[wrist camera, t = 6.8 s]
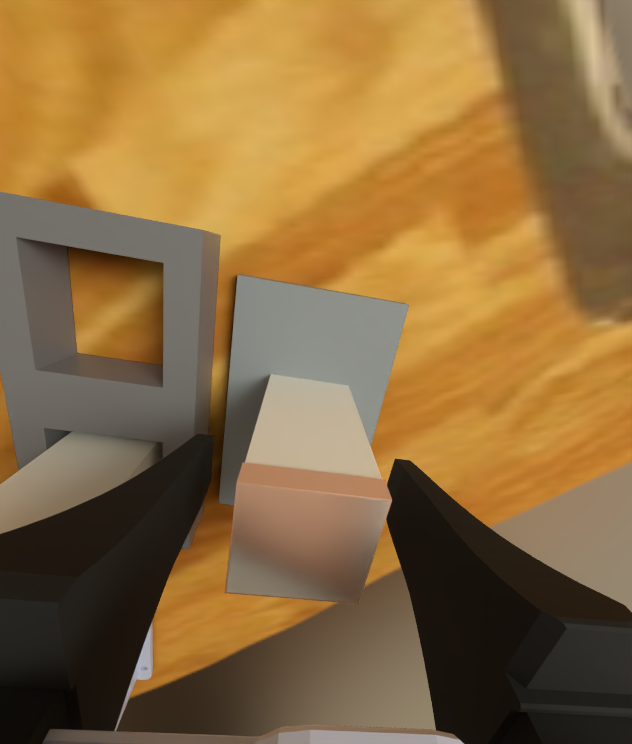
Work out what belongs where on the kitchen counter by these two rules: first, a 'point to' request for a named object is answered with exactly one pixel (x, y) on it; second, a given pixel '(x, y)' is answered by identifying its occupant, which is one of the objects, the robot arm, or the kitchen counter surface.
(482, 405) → the kitchen counter surface
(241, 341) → the mat
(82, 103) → the kitchen counter surface
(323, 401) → the plug
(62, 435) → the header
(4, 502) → the plug
